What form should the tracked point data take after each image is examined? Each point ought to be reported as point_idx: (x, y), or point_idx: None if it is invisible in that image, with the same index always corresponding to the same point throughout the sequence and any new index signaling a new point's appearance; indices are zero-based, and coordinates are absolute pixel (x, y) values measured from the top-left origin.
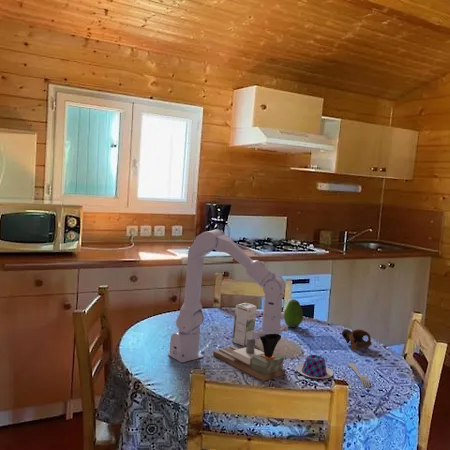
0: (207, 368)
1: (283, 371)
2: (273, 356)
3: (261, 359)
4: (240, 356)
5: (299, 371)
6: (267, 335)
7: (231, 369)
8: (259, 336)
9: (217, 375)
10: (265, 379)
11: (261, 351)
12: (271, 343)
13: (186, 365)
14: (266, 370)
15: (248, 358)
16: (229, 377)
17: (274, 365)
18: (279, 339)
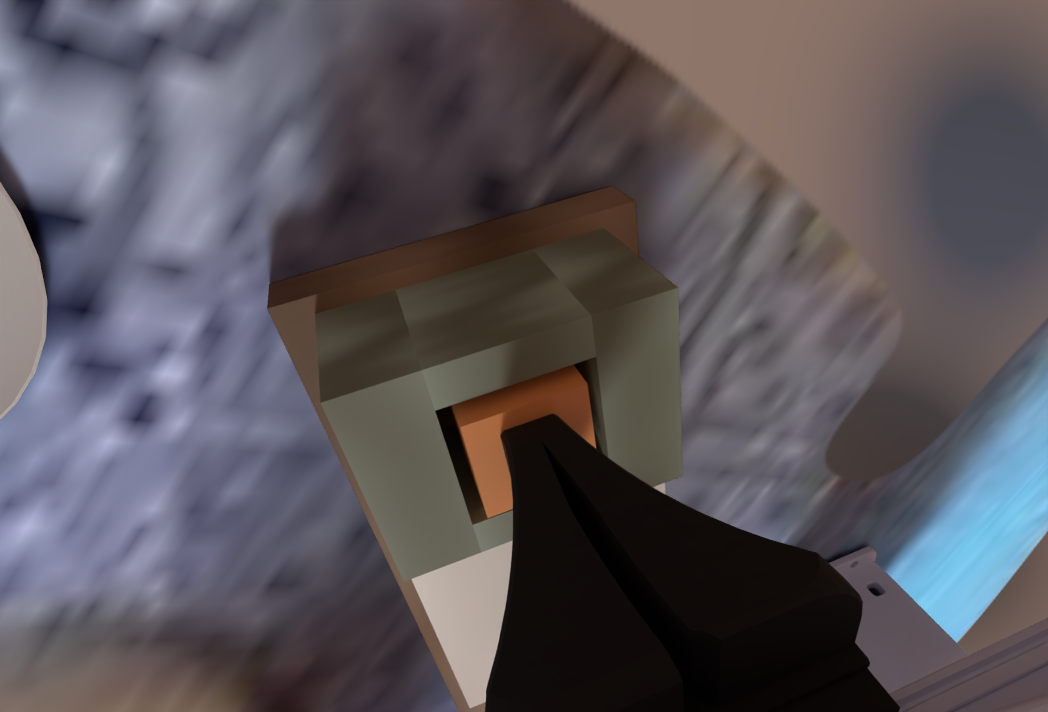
0: (809, 475)
1: (305, 290)
2: (473, 437)
3: (654, 392)
4: None
5: (11, 302)
6: (855, 706)
7: (691, 448)
8: (1024, 643)
9: (838, 374)
10: (591, 197)
11: (434, 620)
12: (705, 539)
13: (869, 517)
14: (611, 251)
15: (662, 485)
16: (798, 329)
17: (487, 307)
18: (517, 660)
